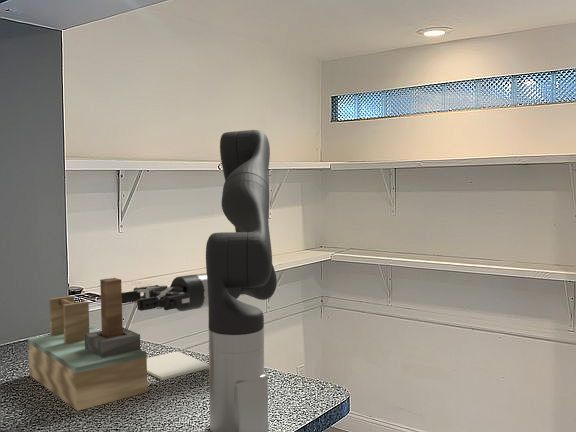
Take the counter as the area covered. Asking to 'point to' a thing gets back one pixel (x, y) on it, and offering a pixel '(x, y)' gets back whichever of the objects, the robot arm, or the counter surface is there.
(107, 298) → the walnut key
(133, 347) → the wooden socket fixture
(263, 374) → the robot arm
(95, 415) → the counter surface
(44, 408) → the counter surface
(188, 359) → the mat
